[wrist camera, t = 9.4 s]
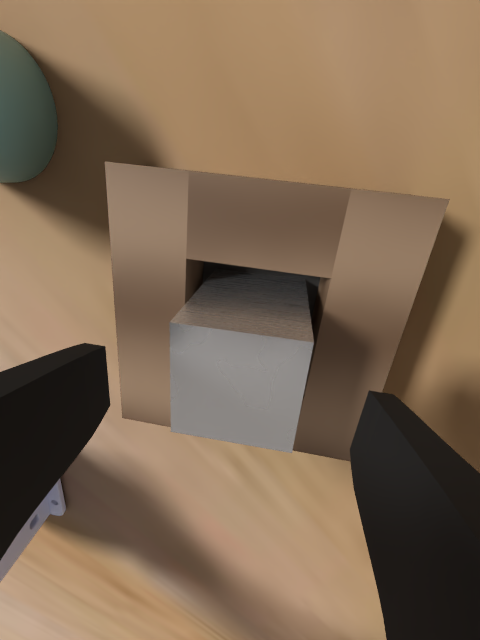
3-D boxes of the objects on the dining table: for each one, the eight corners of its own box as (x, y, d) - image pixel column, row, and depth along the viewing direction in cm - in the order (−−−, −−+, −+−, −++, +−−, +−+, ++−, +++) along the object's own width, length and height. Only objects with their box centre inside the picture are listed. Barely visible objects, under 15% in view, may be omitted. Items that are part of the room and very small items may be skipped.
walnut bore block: (346, 417, 17) (357, 462, 14) (148, 382, 18) (122, 417, 15) (414, 195, 12) (449, 199, 10) (143, 165, 13) (104, 161, 11)
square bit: (291, 357, 16) (292, 452, 10) (212, 346, 16) (170, 431, 10) (305, 279, 14) (314, 342, 8) (216, 268, 14) (169, 322, 9)
